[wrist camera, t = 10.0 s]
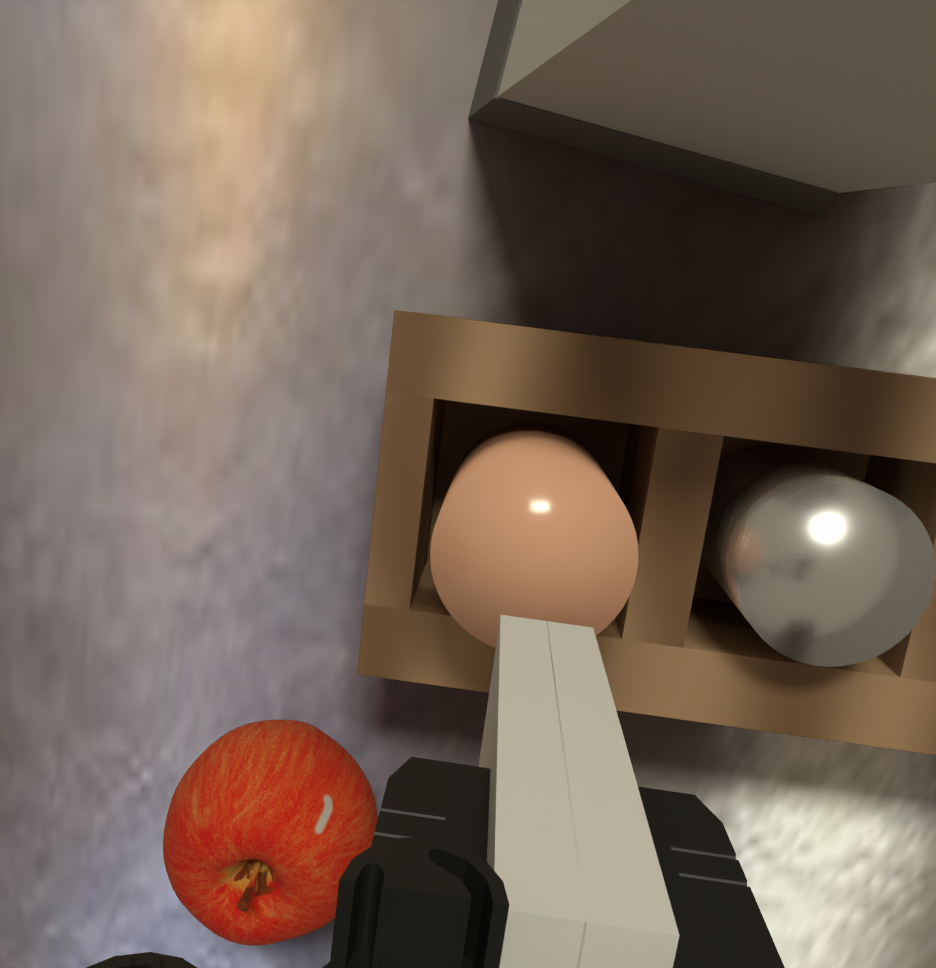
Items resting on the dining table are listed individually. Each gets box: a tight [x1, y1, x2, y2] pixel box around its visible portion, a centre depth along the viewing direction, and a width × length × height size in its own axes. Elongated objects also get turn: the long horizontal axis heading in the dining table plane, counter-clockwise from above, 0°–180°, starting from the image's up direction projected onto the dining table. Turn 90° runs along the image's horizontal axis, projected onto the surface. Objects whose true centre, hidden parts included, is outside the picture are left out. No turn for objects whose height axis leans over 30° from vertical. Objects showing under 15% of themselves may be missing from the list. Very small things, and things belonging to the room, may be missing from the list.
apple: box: [163, 720, 378, 945], centre depth 30 cm, size 8×8×8 cm
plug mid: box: [700, 446, 936, 667], centre depth 27 cm, size 6×6×7 cm
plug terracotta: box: [430, 422, 638, 648], centre depth 25 cm, size 6×6×7 cm
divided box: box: [357, 310, 936, 755], centre depth 28 cm, size 28×12×6 cm, turn 83°
